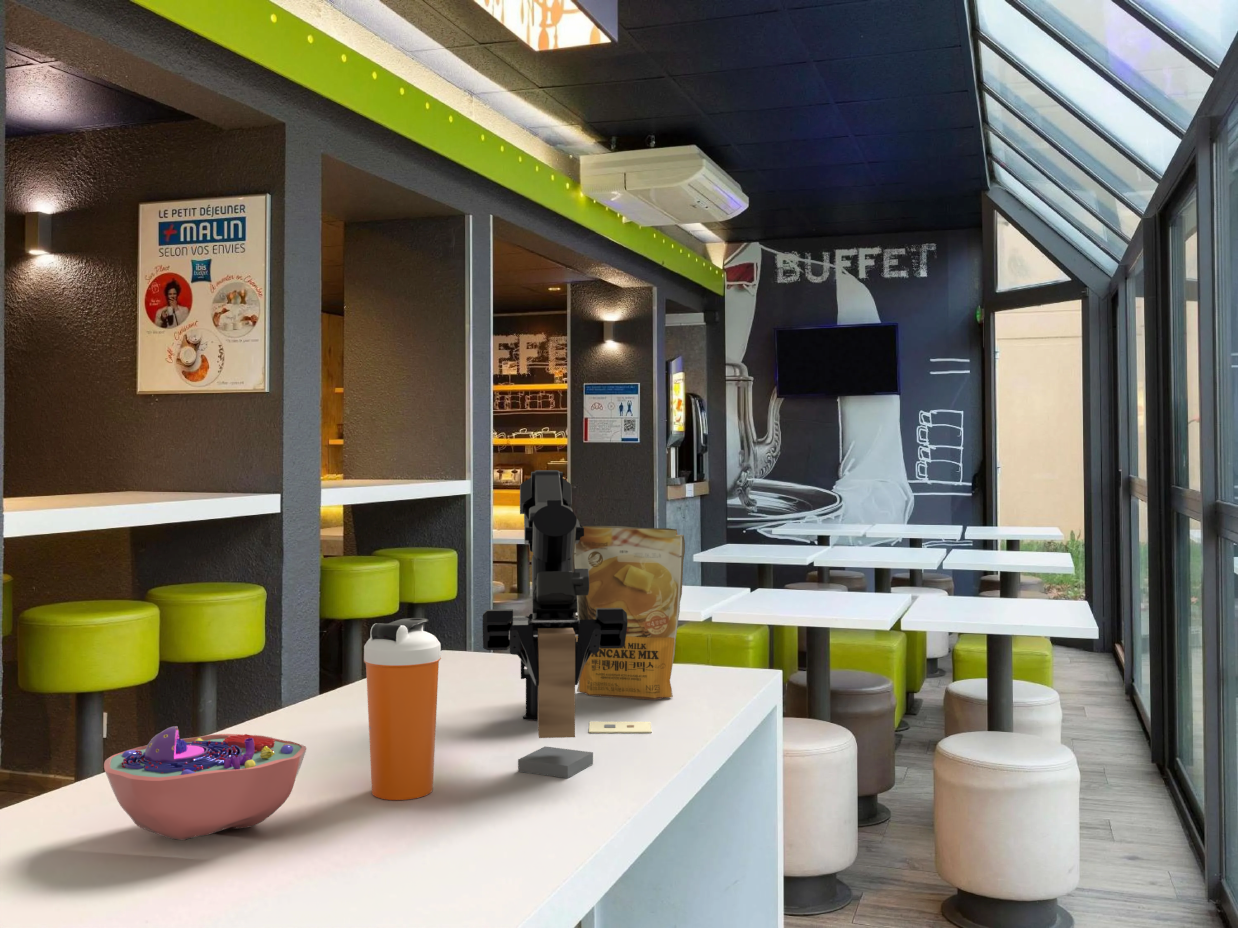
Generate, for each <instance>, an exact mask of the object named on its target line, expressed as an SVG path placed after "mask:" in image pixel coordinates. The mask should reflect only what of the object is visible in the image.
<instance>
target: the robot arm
mask: <svg viewBox="0 0 1238 928" xmlns="http://www.w3.org/2000/svg"><path fill="white" fill-rule="evenodd" d="M563 474H564V473H563V471H559V470H556V469H555V470H554V469H553V470H552V469H550V470H549V469H548V470H547V469H546V470H545V469H544V470H541V469H538V470H537V469H536V470H534V471H531V473H530V477H529V478H528V479H526V480H525V481H523V482H522V483H520V485H519V515H523V524H524V526H523V527H524V529H523V531H524V532H523V533H524V537H523V538H524V539H523V540H524V541H523V542H524V545H528V548H529V549H528V550H529V552H531V553H532V556H531V595H532V598H531V599H532V613H529V615H514V609H513V608H501V609H500V608H498V609H495V608H494V609H493V608H491V609H490V608H489V609H488V608H487V609H486V610H485V611H484V612H483V613H482V648H483V649H484V650H486V651H507V650H509V653H510V655H513V656H514V655H515V656H518V658H519V659H520V679H521V680H525V713H524V714H523V715H522V720H523V721H524V720H525V721H526V720H527V721H528V720H529V721H538V686H539V669H538V628H573V630H574V632H575V686H578V684H579V679H580V676H581V674H582V671H583V668H584V666H585V664H586V662H587V660H588V659H589V657H590V655H591V654H592V653H598V652H599V648H601V649H609V648H622V647H623V646H625V640H626V632H627V624H628V621H627V613H626V612H625V611H624V610H623V609H622V608H596V618H595V619H587V620H579V618H578V617H577V608H578V606H577V595H588V594H589V570H588V569H575V568H574V560H573V555H574V551H575V544H578V543H579V541H580V538H581V537H582V536H584V528H583V527H582V526H583V525H581V523H580V521H579V519H578V518H577V516H576V515H575V513H574V512H573V508H572V505H573V503H572V502H573V499H572V493H573V492H572V484H571V483H570V482H569V481H568V480H566V479H565V478H564V475H563Z"/></svg>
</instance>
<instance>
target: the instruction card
mask: <svg viewBox="0 0 1238 928" xmlns="http://www.w3.org/2000/svg"><path fill="white" fill-rule="evenodd" d="M588 734H652V722H651V721H589V727H588Z"/></svg>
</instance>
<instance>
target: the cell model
mask: <svg viewBox="0 0 1238 928" xmlns="http://www.w3.org/2000/svg"><path fill="white" fill-rule="evenodd" d="M306 752H307V747H306V745H303V744H300V743H297V742H294V741H291V740H290V741H289V740H285V739H284V740H283V739H279V738H276V737H272V736H266V735H259V734H257V735H256V734H247V733H245V734H243V733H242V734H240V733H239V734H238V733H218V734H217V733H216V734H207V735H202V736H201V735H200V736H195V737H189V738H188V737H187V738H180V731H179V728H178V726H177V725H176V726H170V727H167V728H165V729H164V730H162V731H161V732H159V733H157V734H155V735H154V736H153V737H152V738H151V739H150V740H149V742H148V744H147V745H143V746H137V747H134V748H131V749H127V750H124V751H122V752H119V753H115V754H113V755H111V756H110V757H108V758H106V759H105V761H104V763H103V768H104V771H105V775H106V777H107V779H108V781H109V784H110V787H111V789H112V790H111V791H112V792H113V794H114V796H115V799H116V800H117V803H118V804H119V805H120V808H121V809H123V811H124V812H125V813H126V814H127V815H128V816H129V818H130V819H131V820H132V821H133V823H134V824H135V825H136V826H137V827H139V828H140V829H142V830H144V831H147V832H151V833H153V834H157V835H159V836H162V837H164V838H168V839H170V840H175V841H186V840H191V839H193V838H196V837H203V836H208V835H212V834H215V833H218V832H221V831H224V830H230V829H246V828H250V827H254V826H256V825H259V824H261V823H262V822H264V821H266V820H267V819H268V818H269V817H271V816H272V815H273V814H274V813H275V812H276V811H277V810H279V808H280V807H282V806H283V805H284V804H285V802H286V801H287V799H288V798H289V797H290V796H291V793H292V792H293V788H294V785H295V782H296V778H297V776H298V774H299V771H300V769H301V766H302V764H303V760H304V758H305V755H306Z"/></svg>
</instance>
